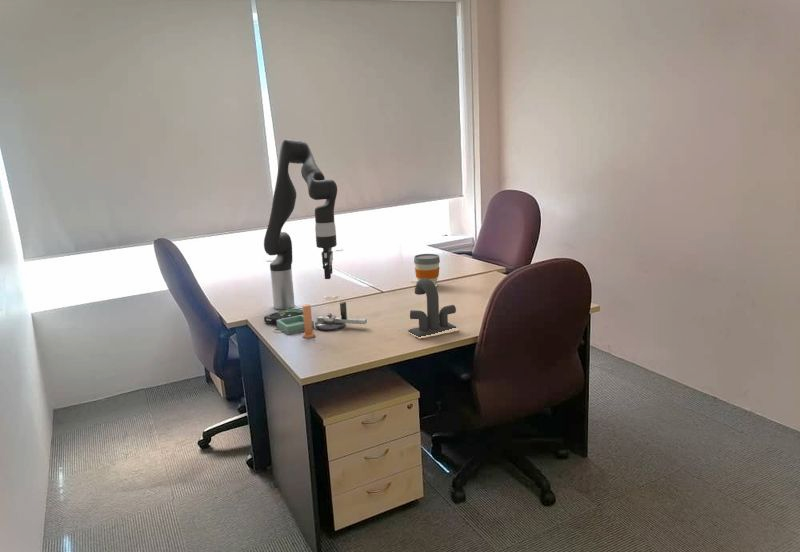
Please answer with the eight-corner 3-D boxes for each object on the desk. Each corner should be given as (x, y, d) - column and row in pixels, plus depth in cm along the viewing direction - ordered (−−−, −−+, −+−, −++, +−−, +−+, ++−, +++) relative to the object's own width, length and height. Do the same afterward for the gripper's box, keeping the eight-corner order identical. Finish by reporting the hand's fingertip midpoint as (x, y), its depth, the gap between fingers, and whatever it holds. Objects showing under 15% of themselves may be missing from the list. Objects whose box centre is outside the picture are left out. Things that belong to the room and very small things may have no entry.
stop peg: (301, 335, 221) (298, 305, 218) (311, 333, 223) (309, 303, 220) (306, 338, 217) (303, 308, 214) (316, 336, 220) (314, 306, 217)
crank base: (310, 325, 233) (310, 321, 232) (337, 319, 239) (336, 315, 239) (323, 333, 223) (323, 329, 223) (350, 326, 229) (350, 323, 229)
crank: (315, 322, 230) (314, 303, 228) (321, 319, 234) (319, 299, 232) (363, 325, 224) (362, 305, 222) (367, 321, 229) (366, 301, 227)
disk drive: (282, 326, 232) (307, 316, 244) (281, 320, 231) (306, 310, 243) (264, 323, 238) (289, 313, 250) (263, 316, 237) (289, 307, 249)
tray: (277, 327, 232) (276, 320, 231) (302, 321, 238) (301, 314, 237) (287, 334, 223) (287, 327, 222) (313, 328, 229) (313, 321, 228)
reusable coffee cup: (445, 286, 284) (445, 256, 280) (426, 291, 276) (426, 260, 272) (428, 281, 293) (427, 252, 290) (409, 286, 285) (408, 256, 282)
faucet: (438, 319, 234) (437, 271, 229) (459, 330, 220) (459, 279, 215) (398, 328, 226) (396, 278, 221) (418, 339, 212) (416, 287, 207)
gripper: (334, 236, 210) (337, 280, 213) (337, 230, 223) (339, 271, 227) (313, 237, 209) (317, 281, 213) (317, 231, 223) (320, 272, 227)
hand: (328, 276), depth 220 cm, fingers open, 8 cm apart
